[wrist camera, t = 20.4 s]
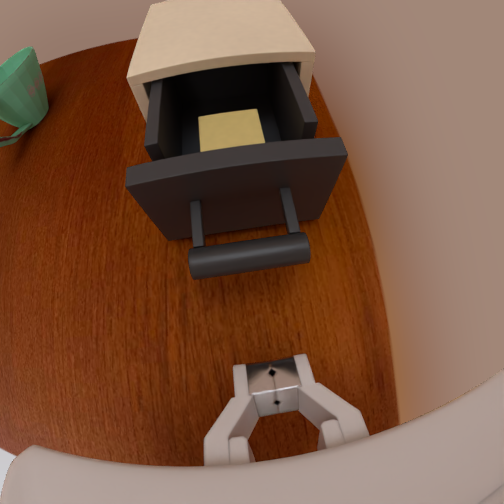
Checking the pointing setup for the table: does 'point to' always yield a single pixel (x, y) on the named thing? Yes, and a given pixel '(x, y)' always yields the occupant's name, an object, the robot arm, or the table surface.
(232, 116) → the block
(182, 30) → the beige cabinet housing
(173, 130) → the drawer
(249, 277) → the table surface
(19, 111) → the mug
